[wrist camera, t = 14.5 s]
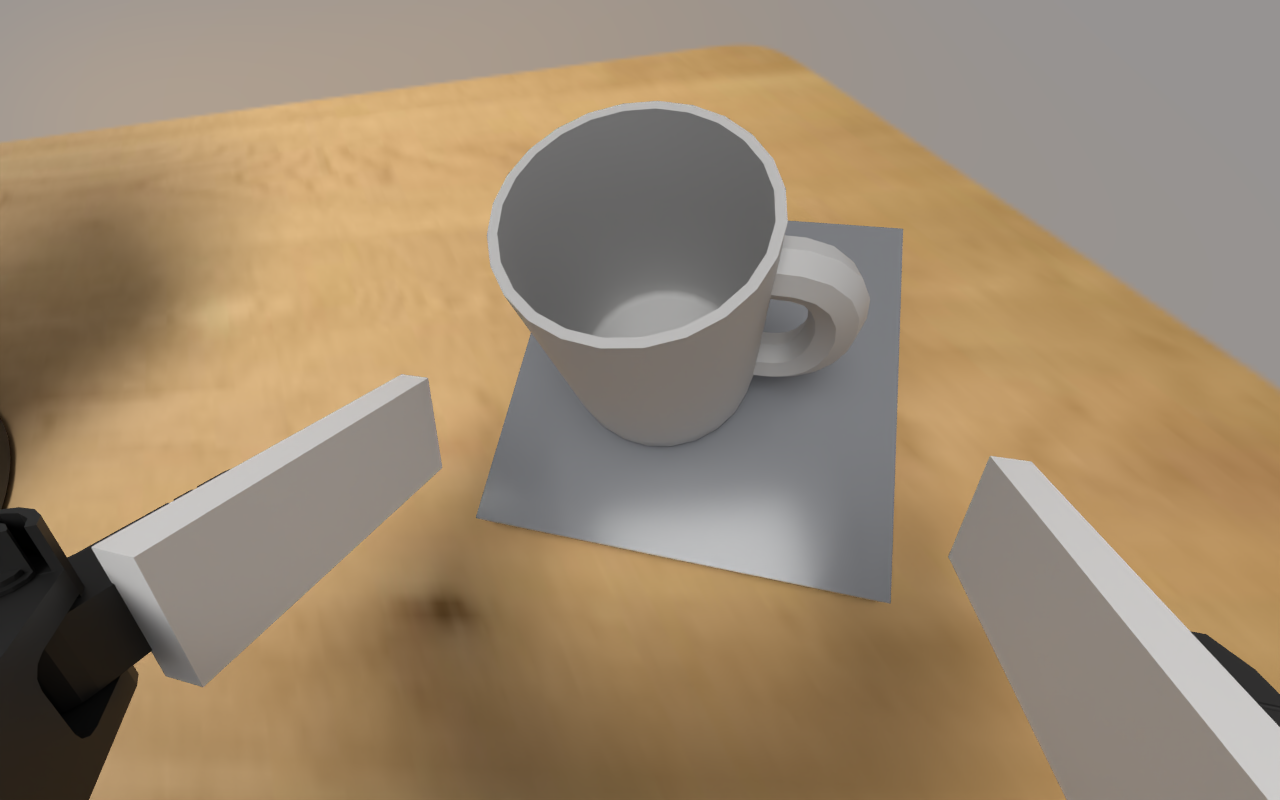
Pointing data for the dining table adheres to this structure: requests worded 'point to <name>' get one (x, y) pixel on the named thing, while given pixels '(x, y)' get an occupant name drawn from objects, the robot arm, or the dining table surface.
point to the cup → (665, 268)
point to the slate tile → (732, 457)
